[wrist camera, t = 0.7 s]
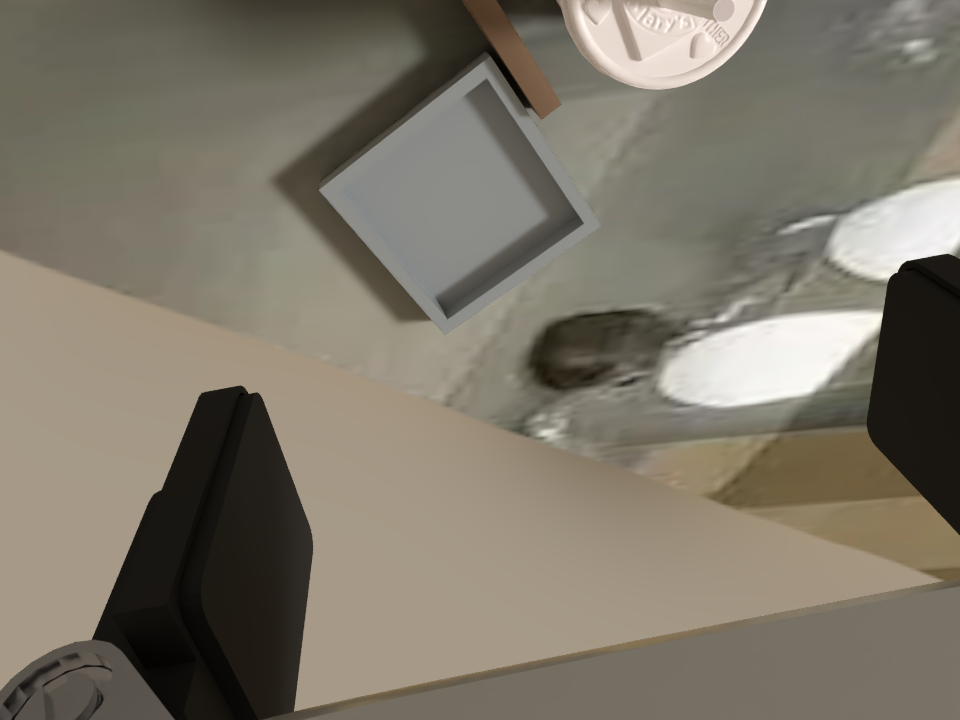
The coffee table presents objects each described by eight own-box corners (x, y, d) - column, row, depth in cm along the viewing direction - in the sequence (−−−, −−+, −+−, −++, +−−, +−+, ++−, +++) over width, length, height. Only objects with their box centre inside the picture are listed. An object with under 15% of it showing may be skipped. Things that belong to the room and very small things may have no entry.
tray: (485, 50, 31) (490, 55, 29) (593, 214, 35) (601, 225, 34) (321, 179, 33) (318, 190, 31) (442, 320, 37) (444, 335, 36)
